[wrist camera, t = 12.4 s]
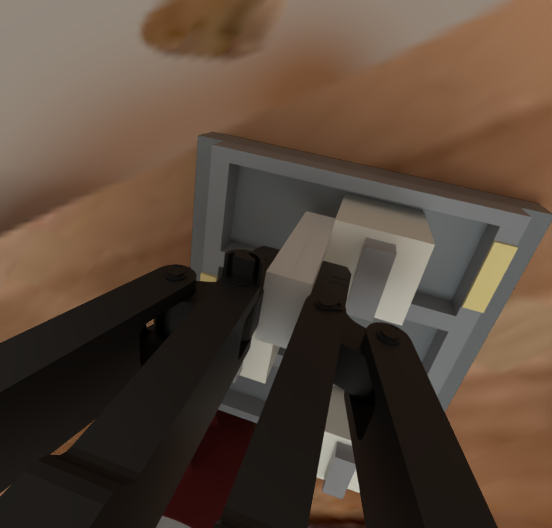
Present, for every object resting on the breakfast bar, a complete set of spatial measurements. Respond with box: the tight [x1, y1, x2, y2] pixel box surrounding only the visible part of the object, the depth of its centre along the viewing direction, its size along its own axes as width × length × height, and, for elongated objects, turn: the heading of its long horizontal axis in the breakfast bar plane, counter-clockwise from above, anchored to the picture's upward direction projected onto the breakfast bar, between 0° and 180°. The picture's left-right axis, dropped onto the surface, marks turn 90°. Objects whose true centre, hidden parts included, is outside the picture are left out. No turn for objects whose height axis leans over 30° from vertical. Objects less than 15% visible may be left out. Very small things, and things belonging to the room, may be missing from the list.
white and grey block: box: [325, 193, 435, 326], centre depth 17 cm, size 4×4×6 cm
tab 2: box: [317, 385, 360, 499], centre depth 22 cm, size 4×4×6 cm
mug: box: [156, 410, 254, 528], centre depth 27 cm, size 11×8×10 cm
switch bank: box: [190, 132, 552, 423], centre depth 22 cm, size 18×18×4 cm
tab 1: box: [233, 330, 280, 384], centre depth 20 cm, size 4×4×6 cm
